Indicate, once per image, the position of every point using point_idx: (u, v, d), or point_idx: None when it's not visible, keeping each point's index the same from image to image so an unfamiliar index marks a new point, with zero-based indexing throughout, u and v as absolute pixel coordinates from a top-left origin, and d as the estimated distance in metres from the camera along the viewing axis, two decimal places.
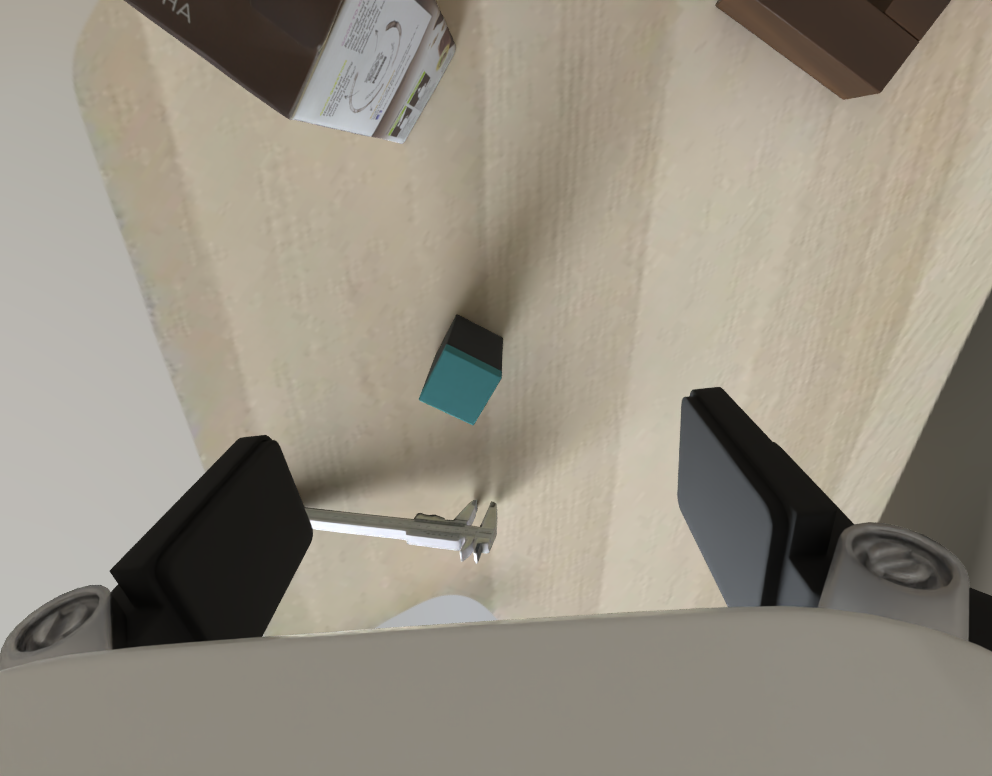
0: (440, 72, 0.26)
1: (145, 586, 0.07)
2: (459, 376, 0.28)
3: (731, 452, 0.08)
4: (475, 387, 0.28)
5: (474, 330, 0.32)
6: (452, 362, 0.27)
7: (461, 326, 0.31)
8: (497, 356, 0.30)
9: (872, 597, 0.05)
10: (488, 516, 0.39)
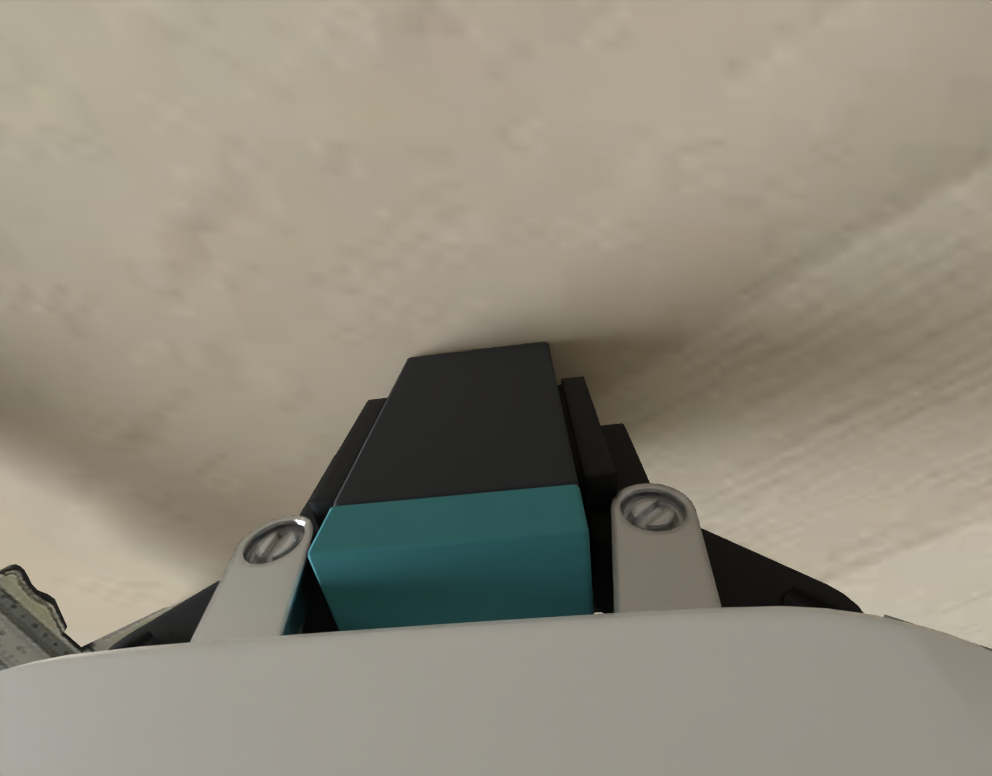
0: None
1: None
2: (514, 617, 0.07)
3: None
4: None
5: None
6: (553, 576, 0.06)
7: None
8: None
9: (645, 549, 0.06)
10: None
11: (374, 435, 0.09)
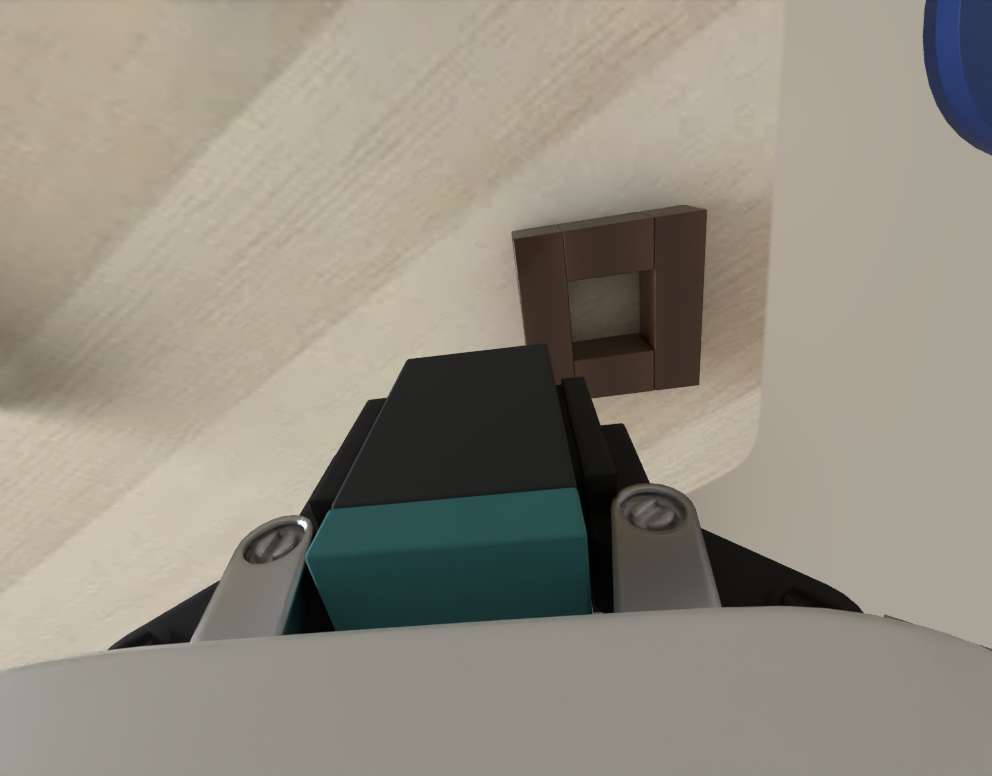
0: None
1: None
2: None
3: (566, 430, 0.09)
4: None
5: None
6: (551, 580, 0.06)
7: None
8: None
9: (645, 549, 0.06)
10: None
11: (372, 437, 0.09)
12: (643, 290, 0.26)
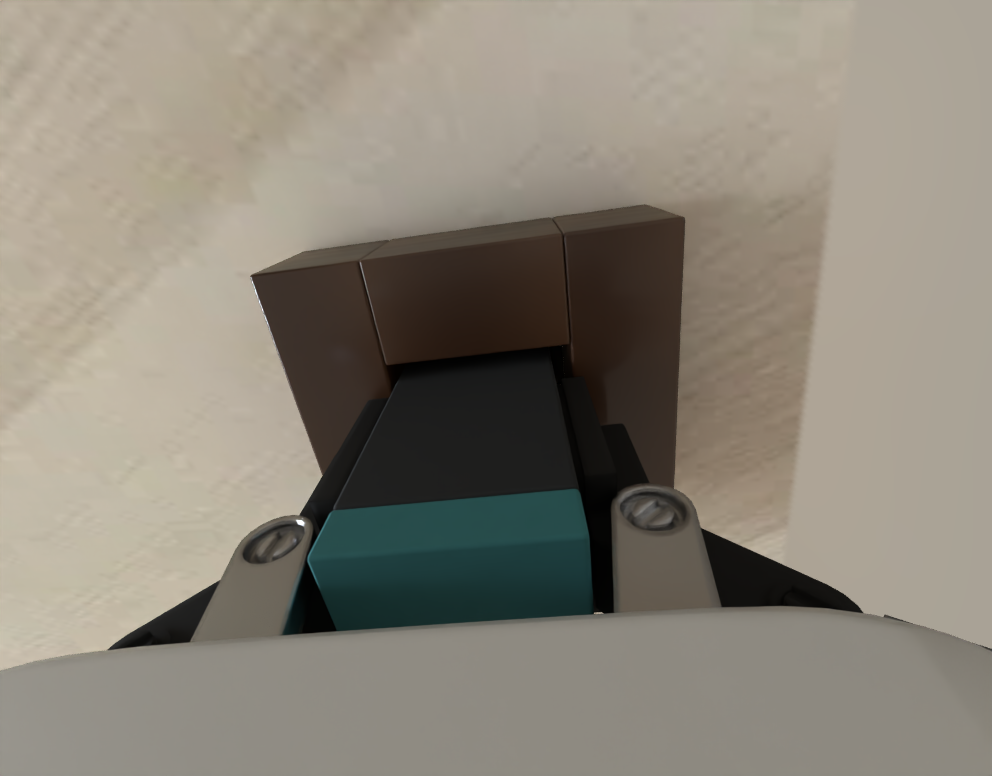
0: None
1: None
2: None
3: None
4: None
5: None
6: (553, 581, 0.06)
7: None
8: None
9: (645, 549, 0.06)
10: None
11: (374, 438, 0.09)
12: (565, 371, 0.13)
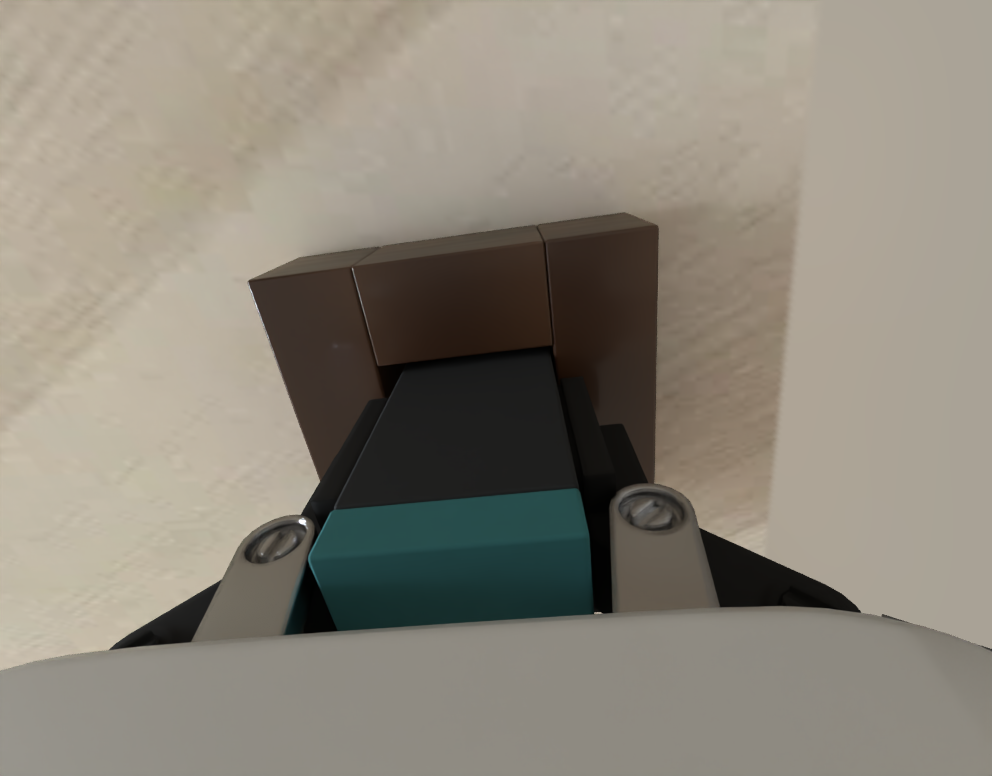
0: None
1: None
2: None
3: None
4: None
5: None
6: (554, 580, 0.06)
7: None
8: None
9: (643, 549, 0.06)
10: None
11: (374, 438, 0.09)
12: None
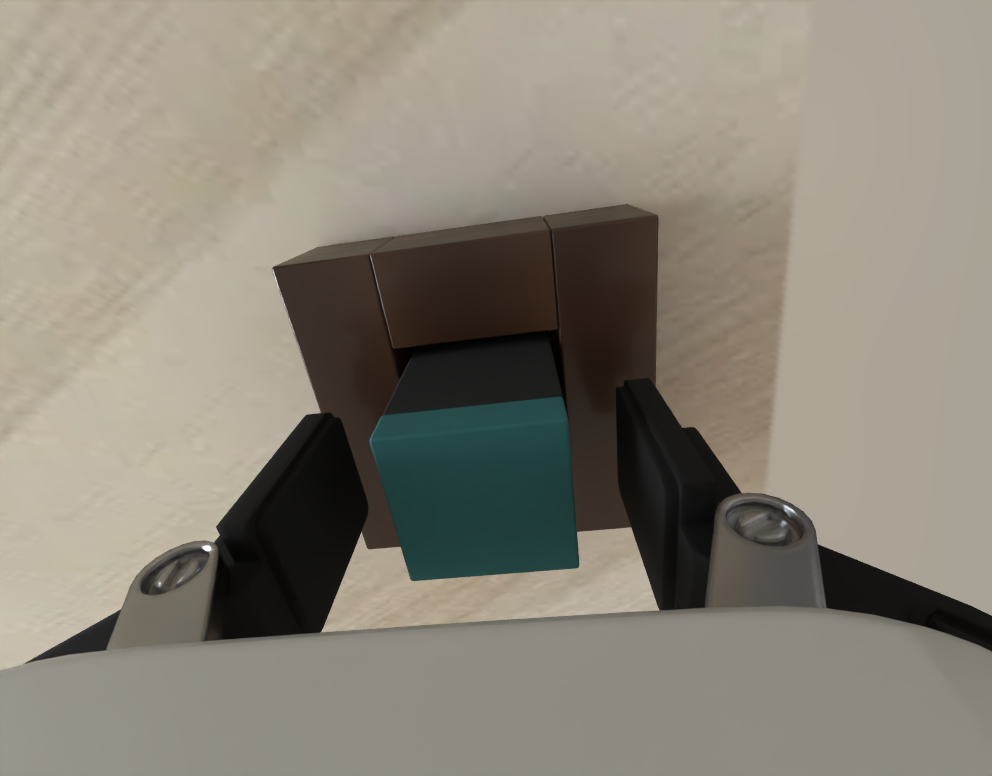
0: None
1: (247, 542, 0.08)
2: (515, 491, 0.09)
3: (644, 435, 0.08)
4: (513, 535, 0.10)
5: None
6: (543, 456, 0.09)
7: None
8: None
9: (748, 561, 0.06)
10: None
11: (407, 374, 0.11)
12: (556, 356, 0.14)
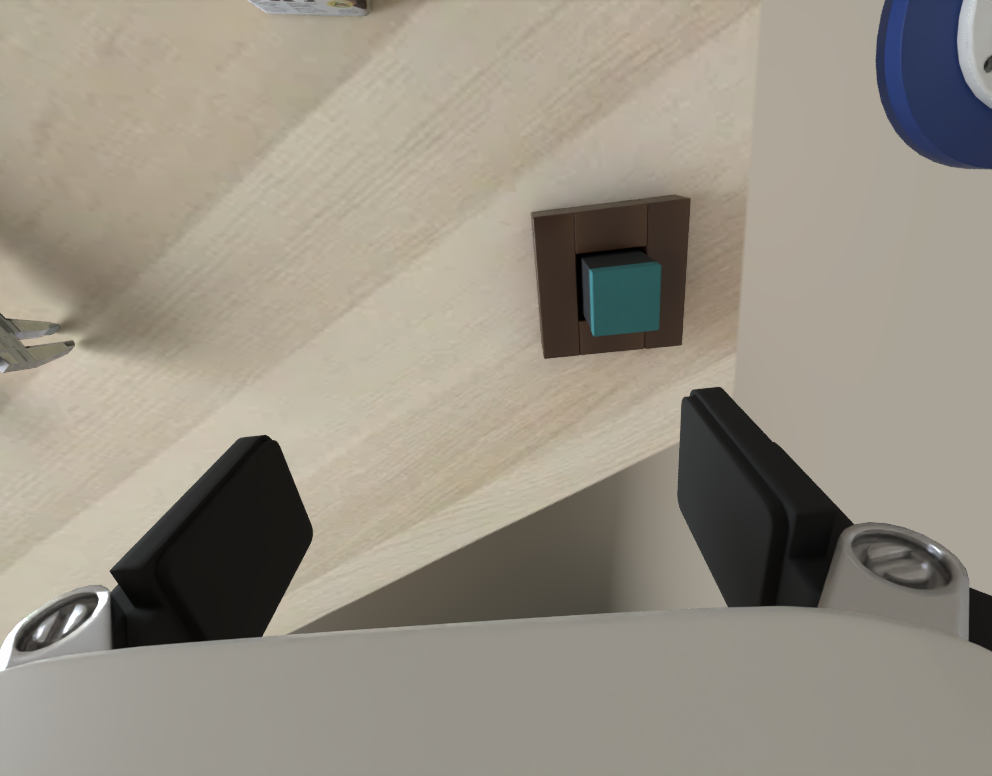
0: (337, 11, 0.26)
1: (145, 586, 0.07)
2: (640, 294, 0.26)
3: (731, 452, 0.08)
4: (636, 314, 0.27)
5: None
6: (651, 279, 0.26)
7: None
8: None
9: (872, 597, 0.05)
10: (49, 347, 0.34)
11: (587, 261, 0.28)
12: None
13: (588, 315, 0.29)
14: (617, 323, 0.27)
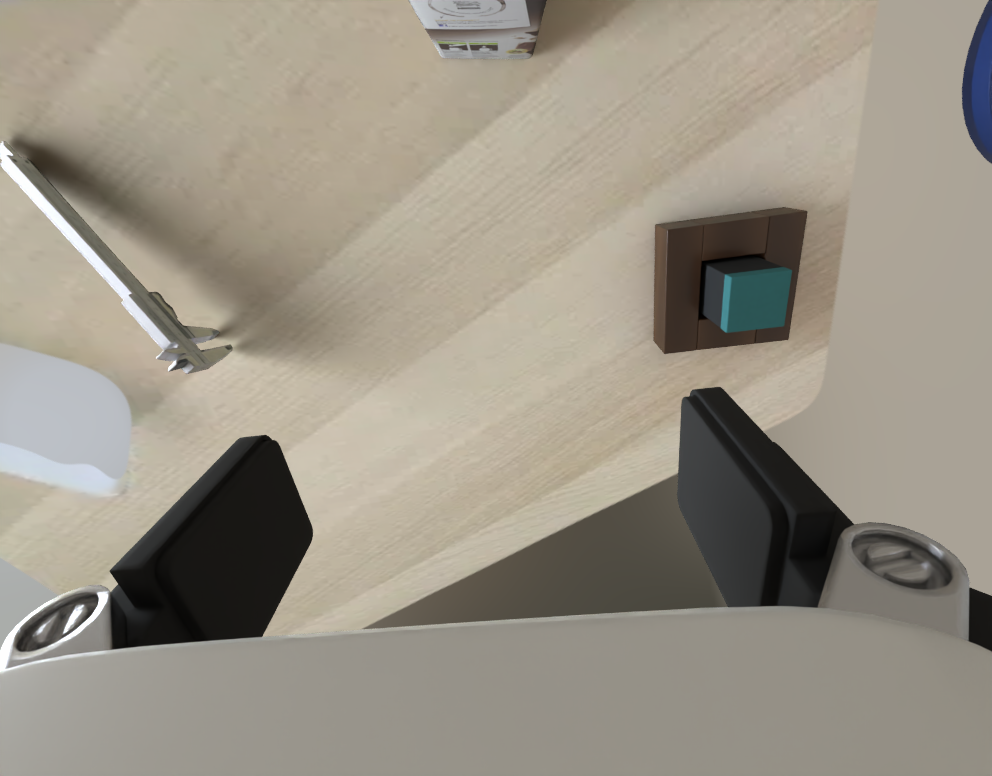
0: (507, 56, 0.30)
1: (145, 586, 0.07)
2: (771, 295, 0.30)
3: (731, 452, 0.08)
4: (765, 313, 0.31)
5: None
6: (782, 282, 0.30)
7: None
8: None
9: (872, 597, 0.05)
10: (216, 351, 0.38)
11: (715, 267, 0.32)
12: None
13: (715, 314, 0.33)
14: (748, 321, 0.31)
